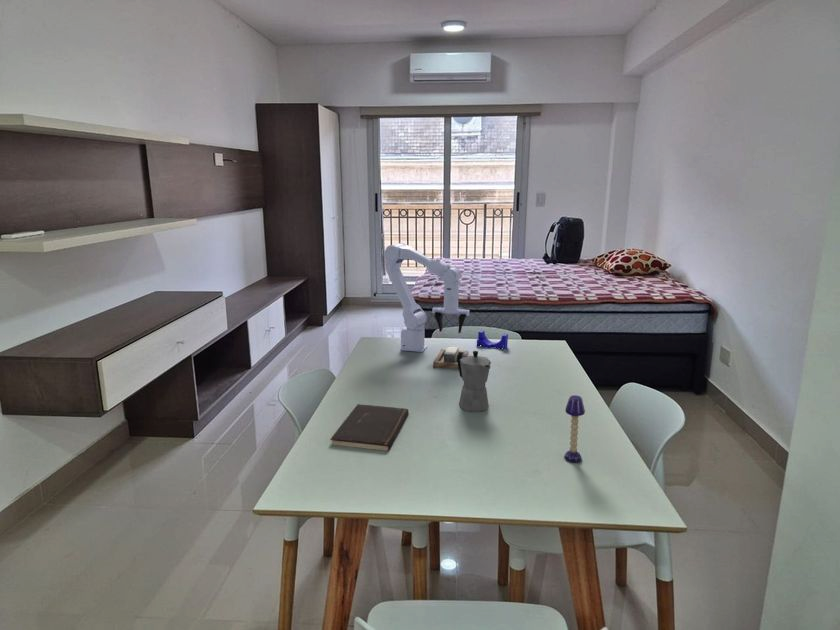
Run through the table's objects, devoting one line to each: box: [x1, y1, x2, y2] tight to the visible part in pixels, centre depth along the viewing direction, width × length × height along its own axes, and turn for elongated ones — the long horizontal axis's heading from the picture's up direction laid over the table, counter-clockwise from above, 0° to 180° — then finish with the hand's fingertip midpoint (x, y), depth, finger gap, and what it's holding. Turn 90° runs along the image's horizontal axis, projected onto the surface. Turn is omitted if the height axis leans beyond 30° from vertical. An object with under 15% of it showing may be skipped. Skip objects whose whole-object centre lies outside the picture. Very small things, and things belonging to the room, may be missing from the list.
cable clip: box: [476, 330, 509, 350], centre depth 225 cm, size 12×4×6 cm, turn 62°
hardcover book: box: [330, 403, 410, 452], centre depth 152 cm, size 16×23×2 cm
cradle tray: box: [432, 348, 469, 370], centre depth 207 cm, size 11×16×2 cm
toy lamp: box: [563, 394, 586, 464], centre depth 134 cm, size 5×5×17 cm
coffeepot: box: [457, 350, 492, 413], centre depth 166 cm, size 15×9×18 cm, turn 33°
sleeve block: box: [444, 346, 460, 362], centre depth 207 cm, size 10×4×4 cm, turn 167°
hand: (450, 331), depth 214 cm, fingers open, 7 cm apart
